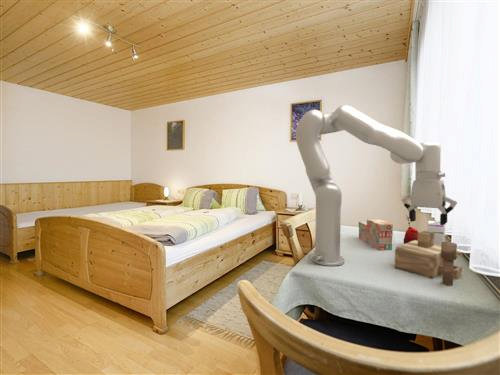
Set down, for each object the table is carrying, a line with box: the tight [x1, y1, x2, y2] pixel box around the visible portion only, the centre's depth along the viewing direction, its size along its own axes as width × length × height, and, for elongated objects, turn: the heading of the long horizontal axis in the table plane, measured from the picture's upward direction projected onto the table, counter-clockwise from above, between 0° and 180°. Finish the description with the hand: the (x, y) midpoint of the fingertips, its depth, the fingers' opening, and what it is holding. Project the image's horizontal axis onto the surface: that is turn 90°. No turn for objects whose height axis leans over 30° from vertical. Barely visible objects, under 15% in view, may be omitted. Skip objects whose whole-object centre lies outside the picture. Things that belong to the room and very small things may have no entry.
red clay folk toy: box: [403, 214, 419, 244], centre depth 122 cm, size 8×7×15 cm
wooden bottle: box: [441, 241, 458, 287], centre depth 81 cm, size 4×4×13 cm
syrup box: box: [427, 220, 446, 245], centre depth 107 cm, size 6×6×14 cm
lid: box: [395, 230, 463, 259], centre depth 92 cm, size 16×17×7 cm
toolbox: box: [394, 248, 463, 280], centre depth 93 cm, size 16×17×7 cm
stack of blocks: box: [358, 218, 394, 251], centre depth 127 cm, size 21×6×12 cm, turn 1°
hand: (427, 222), depth 95 cm, fingers open, 9 cm apart
